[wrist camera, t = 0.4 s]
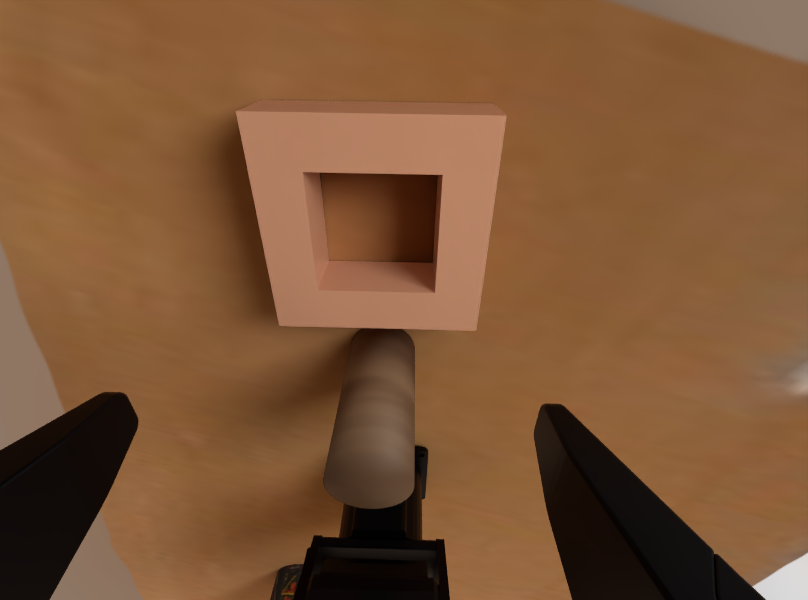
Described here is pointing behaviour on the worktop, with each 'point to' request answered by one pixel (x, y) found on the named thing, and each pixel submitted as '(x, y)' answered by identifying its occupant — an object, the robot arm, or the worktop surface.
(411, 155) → the socket block
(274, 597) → the deodorant
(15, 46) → the worktop surface
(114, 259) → the worktop surface
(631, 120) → the worktop surface
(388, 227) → the worktop surface
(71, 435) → the robot arm
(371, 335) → the peg
